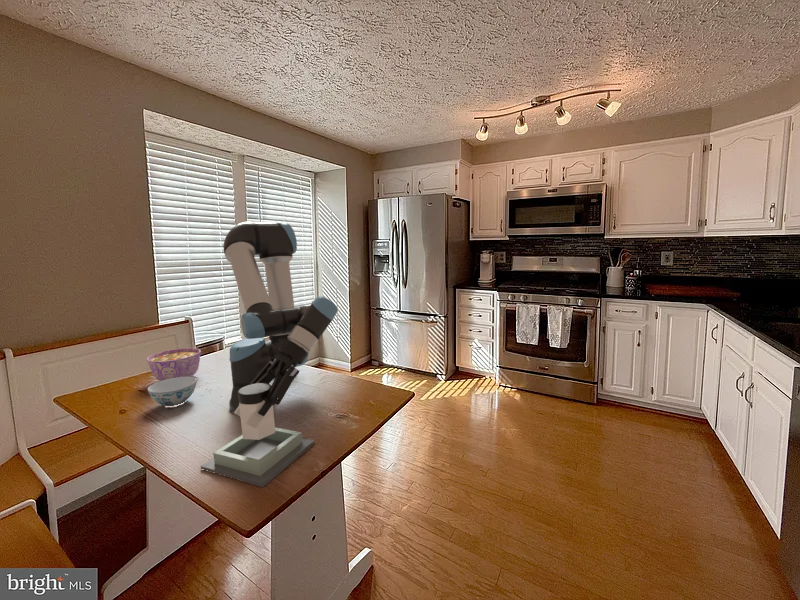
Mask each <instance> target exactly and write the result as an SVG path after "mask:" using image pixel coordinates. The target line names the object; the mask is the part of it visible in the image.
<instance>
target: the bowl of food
mask: <svg viewBox="0 0 800 600" xmlns="http://www.w3.org/2000/svg"><path fill="white" fill-rule="evenodd" d="M201 353H202V351H201V349H200V348H196V347H184V348H175V349H169V350H163V351H160V352H156V353H154V354H151V355H149V356H148V357H147V358H146V361H147V365H148V366H149V369H150V372H151V374H152V376H153V377H154V378H155V379H156V380H158V382H160V381H163V380H166V379H171V378H177V377H193V376H194V375H195V374H196V373H197V372H198V370H199V367H200V360H201Z"/></svg>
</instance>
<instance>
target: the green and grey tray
mask: <svg viewBox="0 0 800 600" xmlns="http://www.w3.org/2000/svg"><path fill="white" fill-rule="evenodd" d="M313 445H315V440H314V439H309V438H303V435H302V432H300V431H296V430H291V429H286V428H280V427H278V426H277V427H276V426H275V433H274V434H271V435H269V436H267V437H265V438H262V439H260V440H251V439H243V436H242V434H241V435H240V436H238V437H236V438H235V439H233V440H232V441H230V442H228V443H226V444H225V445H224V446H221V448H219V449H217V450H215V451H214V452H213V453H212V454H213V458H211V459H209V460H208V461H207V462H205V463H203V464H202V465H200V470H201V469H204V470H208V471H211V472H215V473H218V474H221V475H225V476H228V477H232V478H235V479H239V480H242V481H245V482H244V483H246V482H248V483H247V484H249V483H251V484H250V485H253V484H254V486H256V485H257V486H258V487H260V488H264V487H265V486H267V484H269V483H270V482H271V481H272V480H273V479H274V478H276V477H277V476H278V475H280V473H282V472H283V471H284V470H285V469H286V468H287V467H289V466H290V465H291V464H293V462H295V461H296V460H297V459H298V458H299V457H301V456H302V455H304V453H305V452H306V451H308V450H309V449H310V448H311V447H313ZM211 472H210V473H211ZM218 474H217V475H218ZM221 475H220V476H221ZM225 476H224V477H225ZM228 477H227V478H228ZM232 478H231V479H232ZM235 479H234V480H235ZM239 480H238V481H239ZM242 481H241V482H242Z"/></svg>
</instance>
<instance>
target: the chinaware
mask: <svg viewBox="0 0 800 600" xmlns="http://www.w3.org/2000/svg"><path fill="white" fill-rule="evenodd" d="M196 385H197V378H195V377H193V376H192V377H177V378H171V379H166V380H163V381H158V382H154V383H153V384H151V385H150V386H148V387H147V392H148V394H149V395H150V396H149V397H150V398H151V399H152V400H153V402H156V403H158V404H159V405H162V406H164V405H165V406H174V405H178V404H181V403H183V402H185V401H186V402H187V400H188V399H189V398H190V397H191V396H192V395H193V394H194V392H195V389H196Z"/></svg>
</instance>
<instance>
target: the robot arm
mask: <svg viewBox="0 0 800 600" xmlns="http://www.w3.org/2000/svg"><path fill="white" fill-rule="evenodd" d="M223 241H224V242H223V253H224V256H225V259H226V260H227V262H229V263H230V266H231V268H232V272H233V275H234V278H235V281H236V284H237V288H238V291H239V294H240V297H241V301H242V304H243V307H244V310H245V313H243V314H242V315H241V318H240V323H241V324H240V326H241V329H242V335H243V336H244V339H241V340H239V341H237V342H235V343H234V344H232V345H231V346H230V348H229V362H230V369H231V381H232V390H231V395H230V399H229V402H228V403H229V404H228V406H229V410H230V411H231V412H232V413H234V414H235V415H237V416H238V417H240V409H239V398H238V391H239V390H240V389H241V388H243V387H245V386H247V385H251V384H256V383H267V384H270V383H271V382H272V383H271V384H270V385H271V388H270V390H269V392H268V394H267V396H266V398H263V401H262V402H261V404H260V405H259V407H258V408H257V410H256V411H255V412H253V414H252V415H251V416H250V418H249V419H248V421H247V422H246V424H247V425H249V426H251V427H253V428H255V429H256V427H257V426H258V424H259V423H260V421H261V420H262V419H263V417H264V416H265V415H266V413H267V412H268V410H269V409H270V407H271V406H272V405H273V406H274V405H276V406H279V405H280V404H281V402H282V400H283V399H284V397H285V395H286V394H287V392H288V389H290V387H291V385H292V383H293V381H294V380H295V378H296V377H297V376H298V375H299V374H300V370H299V369H298V368H297V367H301V366H303V365H305V364H306V363H307V361H308V359H309V355H310V354H309V353H310V352H311V351H312V350H313V348H314V347H315V346H316V344H317V342H318V341H319V339H321V337H322V335H323V334H324V333H325V332H326V330H327V328H328V327H329V325H330V324H331V322H333V320H334V318H335V317H336V315H337V313H338V311H339V310H338V309H339V308H338V306H337V305H336V304H335V303H334V302H333V301H332V300H330V299H329V298H327V297H325V296H322V295H317V296H316V297H315V299H314V300H313V301H311V304H310V305H300V306H295V303H294V301H295V300H294V294H293V292H294V291H293V286H292V285H293V284H292V277H291V276H292V275H291V267H290V262H291V261H292V259H293V258H294V257H293V256H294V255H293V254H296V252H297V251H298V247H297V246H298V240H297V237H296V233H295V231H294V228H293V227H292V225H291V224H289V223H287V222H284V221H283V222H281V221H243V222H240V223H238V224H236V225H235V226H233V227H232V228H231V229H230V230H229V231H228V233H226V236H225V238H224V240H223ZM255 256H259V257H258V258H259V261H260V262H261V263H262V264H264V268H265V277H266V285H267V286H265V283H264V280H263V278H262V274H261V272H260V269H259V267H258V264H257V261H256V257H255ZM266 287H267V288H266ZM266 337H268V339H267V340H266V339H265V338H266Z"/></svg>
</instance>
